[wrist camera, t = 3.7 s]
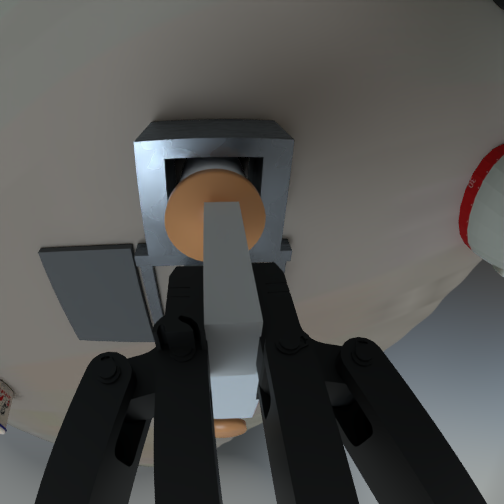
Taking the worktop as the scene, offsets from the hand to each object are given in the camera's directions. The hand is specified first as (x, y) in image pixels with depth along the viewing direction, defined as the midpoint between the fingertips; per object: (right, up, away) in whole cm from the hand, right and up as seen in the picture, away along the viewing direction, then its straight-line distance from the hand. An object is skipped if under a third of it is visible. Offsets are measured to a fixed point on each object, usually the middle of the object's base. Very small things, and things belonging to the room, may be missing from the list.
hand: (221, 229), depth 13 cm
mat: (-13, -5, +12) cm, 18 cm away
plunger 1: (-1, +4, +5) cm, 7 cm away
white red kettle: (+30, +5, +12) cm, 32 cm away
